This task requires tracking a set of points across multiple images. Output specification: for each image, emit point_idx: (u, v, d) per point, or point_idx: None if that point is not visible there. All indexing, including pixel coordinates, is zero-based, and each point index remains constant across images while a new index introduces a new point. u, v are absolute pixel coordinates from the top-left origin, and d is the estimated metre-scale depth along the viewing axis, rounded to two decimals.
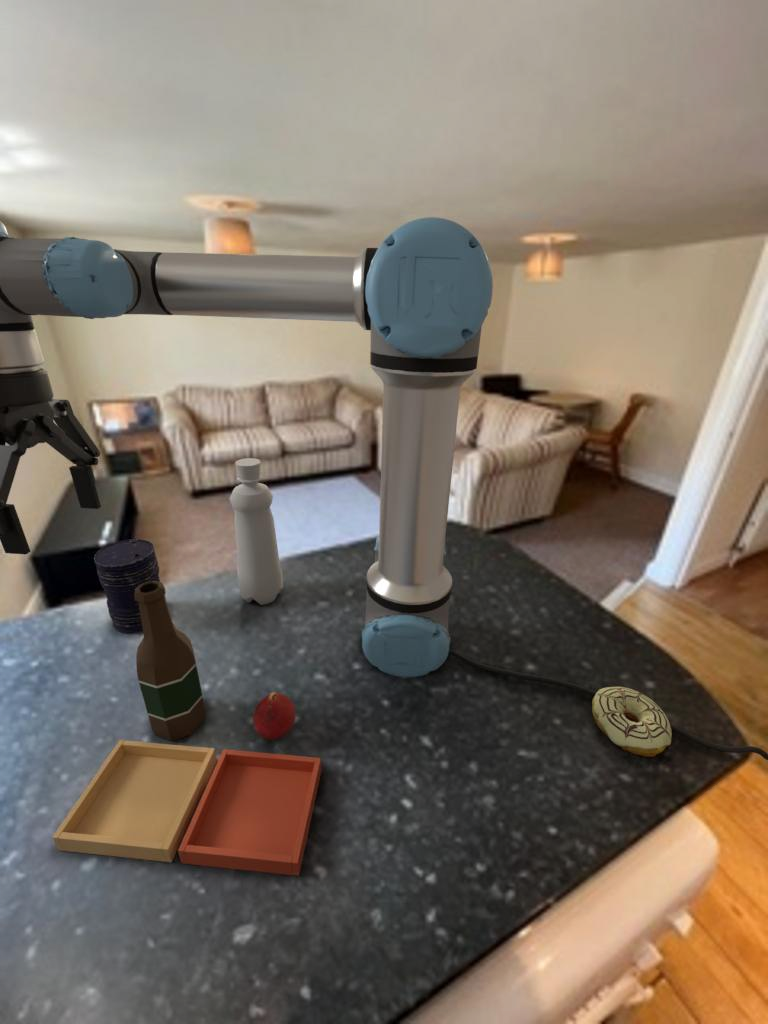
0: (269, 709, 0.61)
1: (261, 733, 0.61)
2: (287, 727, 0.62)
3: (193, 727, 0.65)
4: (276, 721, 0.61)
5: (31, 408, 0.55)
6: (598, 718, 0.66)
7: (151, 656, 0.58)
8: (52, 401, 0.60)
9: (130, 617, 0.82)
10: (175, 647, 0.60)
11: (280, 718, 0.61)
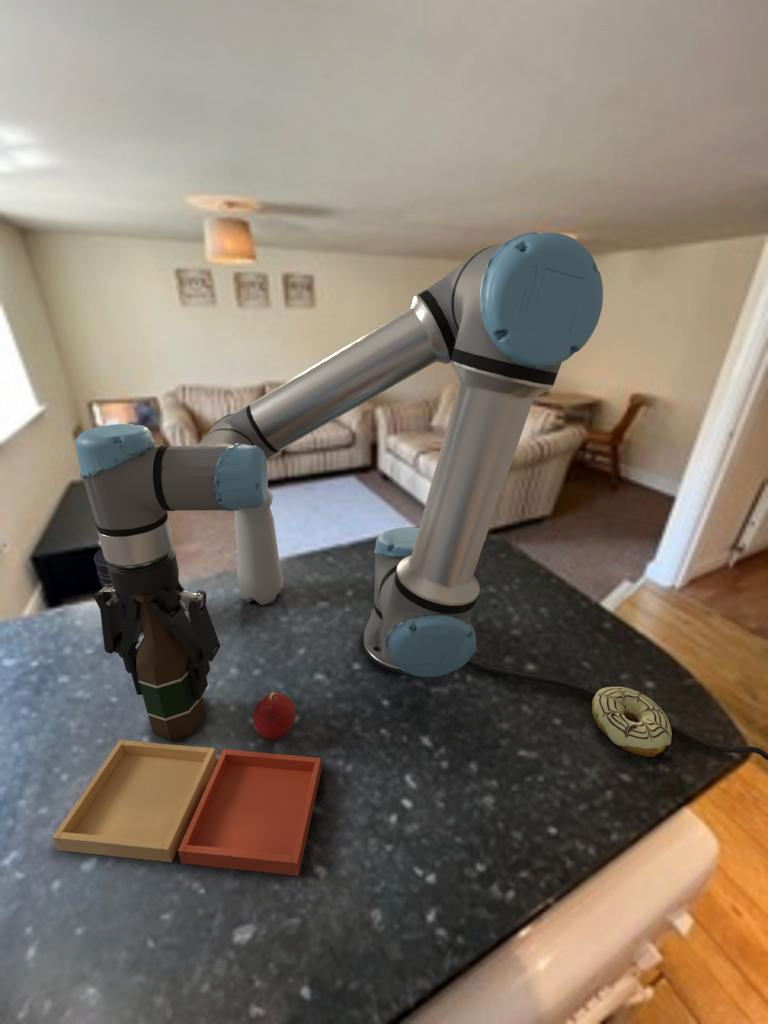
0: (269, 709, 0.61)
1: (261, 733, 0.61)
2: (287, 727, 0.62)
3: (193, 727, 0.65)
4: (276, 721, 0.61)
5: None
6: (598, 718, 0.66)
7: (151, 656, 0.58)
8: (195, 594, 0.57)
9: None
10: (175, 647, 0.60)
11: (280, 718, 0.61)
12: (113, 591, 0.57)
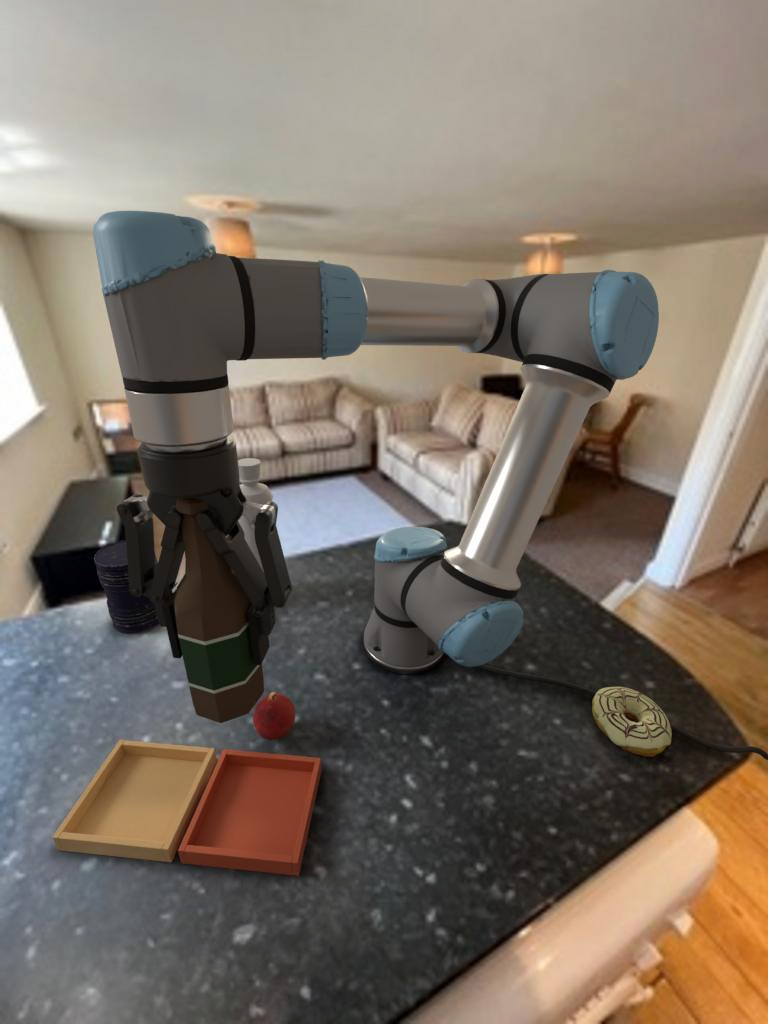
0: (269, 709, 0.61)
1: (261, 733, 0.61)
2: (287, 727, 0.62)
3: (249, 704, 0.46)
4: (276, 721, 0.61)
5: (195, 496, 0.38)
6: (598, 718, 0.66)
7: (198, 598, 0.40)
8: (263, 505, 0.39)
9: (130, 617, 0.82)
10: (230, 587, 0.42)
11: (280, 718, 0.61)
12: (144, 501, 0.39)
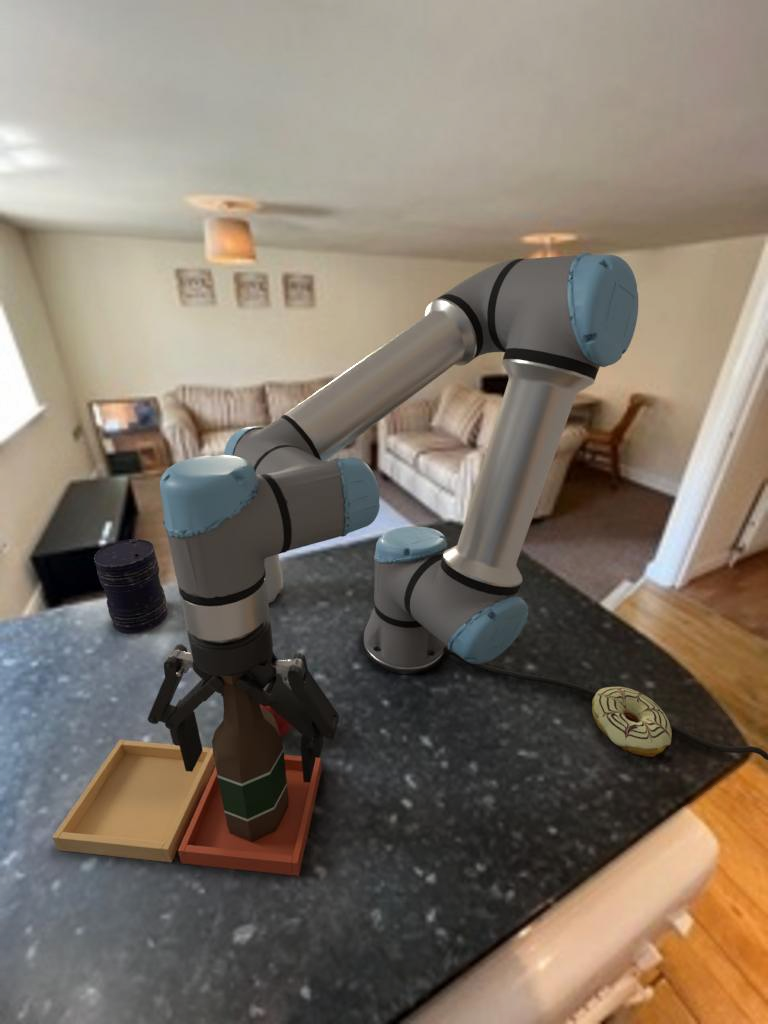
0: (269, 709, 0.61)
1: None
2: (287, 727, 0.62)
3: (277, 823, 0.53)
4: (276, 721, 0.61)
5: None
6: (598, 718, 0.66)
7: (236, 747, 0.46)
8: (291, 660, 0.45)
9: (130, 617, 0.82)
10: (263, 733, 0.48)
11: (280, 718, 0.61)
12: (190, 660, 0.45)
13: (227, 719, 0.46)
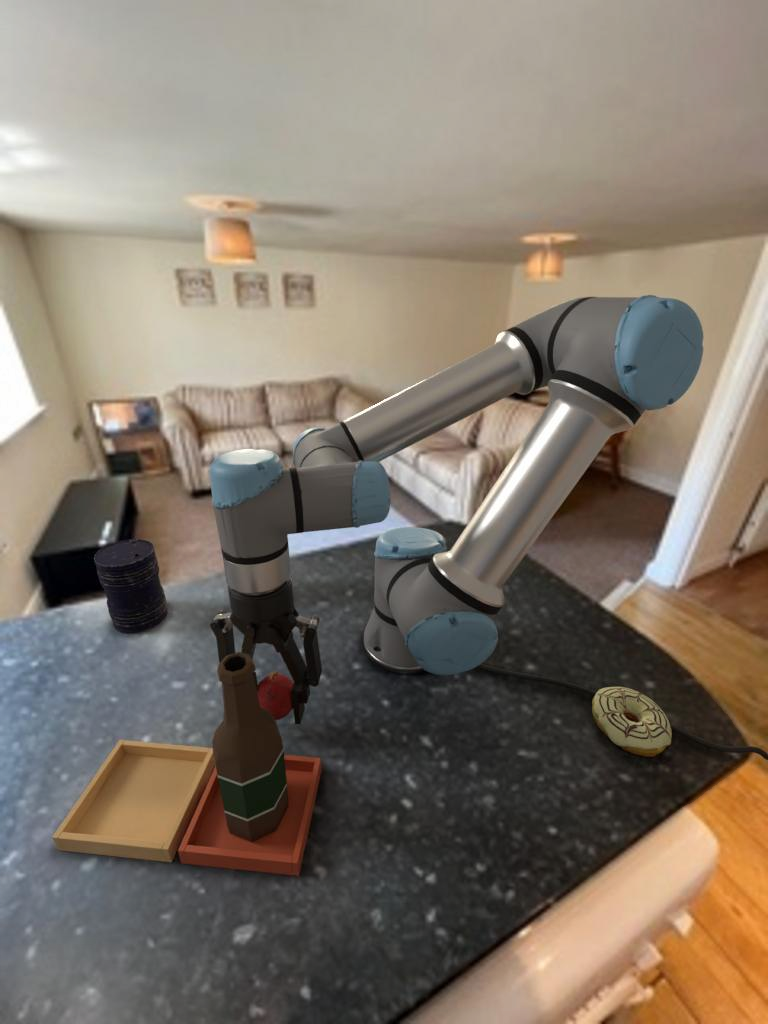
0: (269, 689, 0.60)
1: None
2: (288, 708, 0.61)
3: (277, 823, 0.53)
4: (277, 701, 0.60)
5: None
6: (598, 718, 0.66)
7: (236, 747, 0.46)
8: (310, 619, 0.56)
9: (130, 617, 0.82)
10: (263, 733, 0.48)
11: (281, 697, 0.60)
12: (228, 617, 0.56)
13: (227, 719, 0.46)
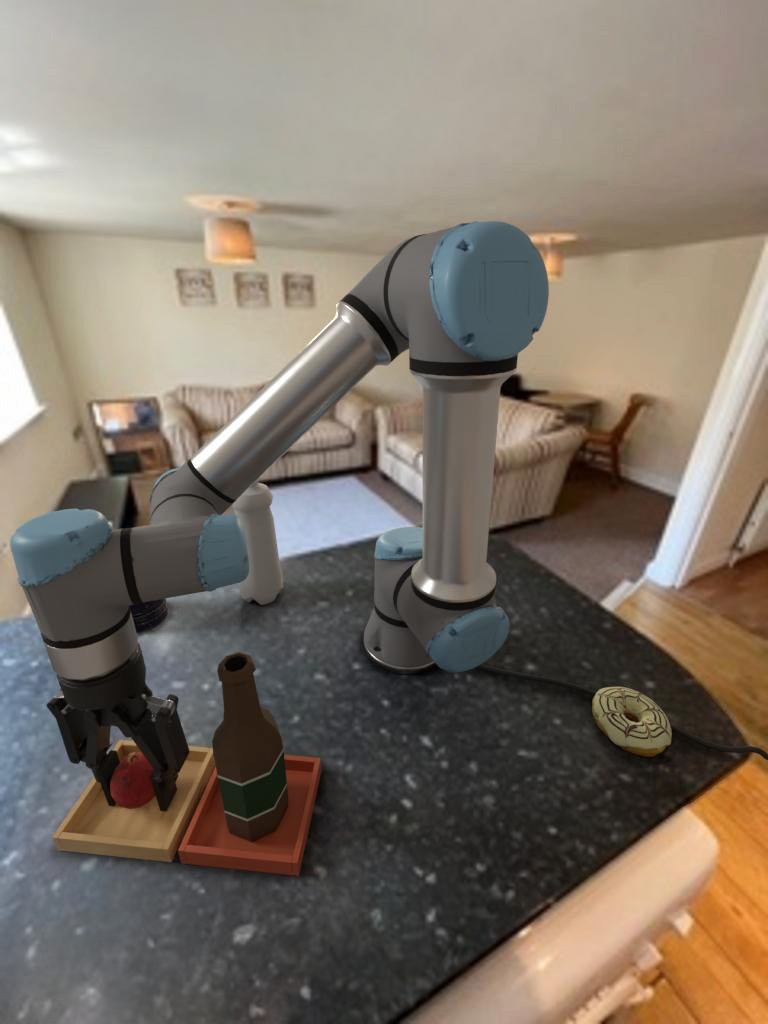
0: (125, 774, 0.52)
1: (116, 802, 0.52)
2: (148, 795, 0.53)
3: (277, 823, 0.53)
4: (133, 789, 0.52)
5: None
6: (598, 718, 0.66)
7: (236, 747, 0.46)
8: (165, 700, 0.49)
9: None
10: (263, 733, 0.48)
11: (139, 784, 0.52)
12: None
13: (227, 719, 0.46)
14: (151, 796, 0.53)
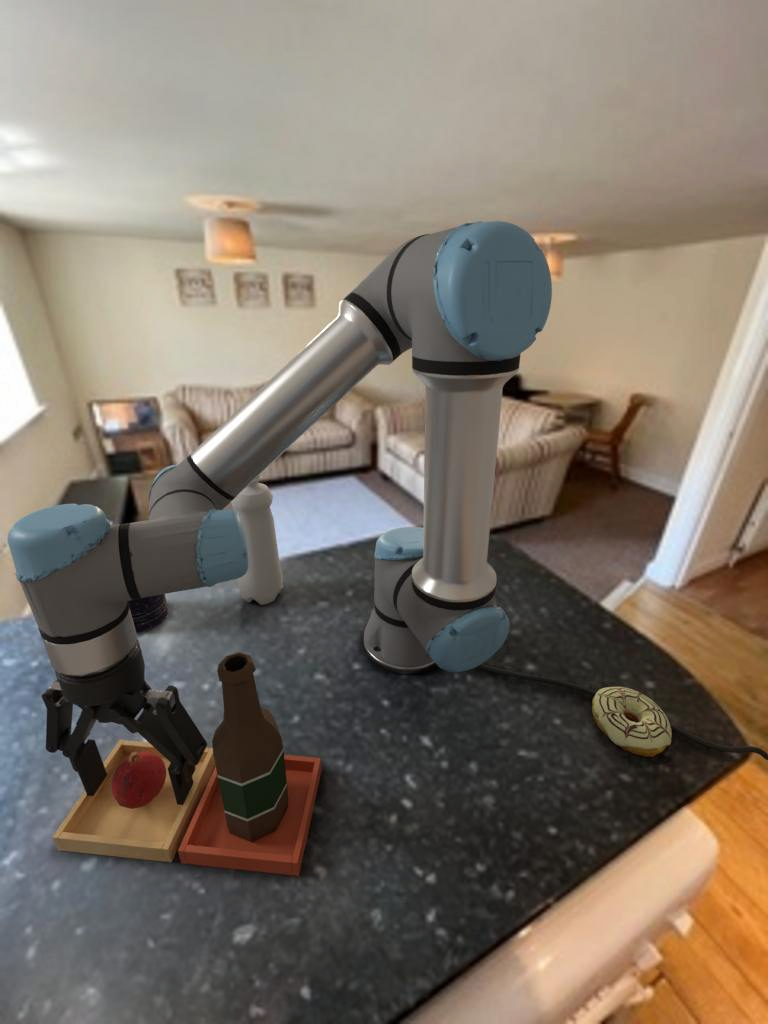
0: (127, 773, 0.52)
1: (118, 802, 0.52)
2: (149, 794, 0.53)
3: (277, 823, 0.53)
4: (135, 788, 0.52)
5: None
6: (598, 718, 0.66)
7: (236, 747, 0.46)
8: (162, 692, 0.48)
9: None
10: (263, 733, 0.48)
11: (141, 783, 0.52)
12: None
13: (227, 719, 0.46)
14: (152, 796, 0.53)
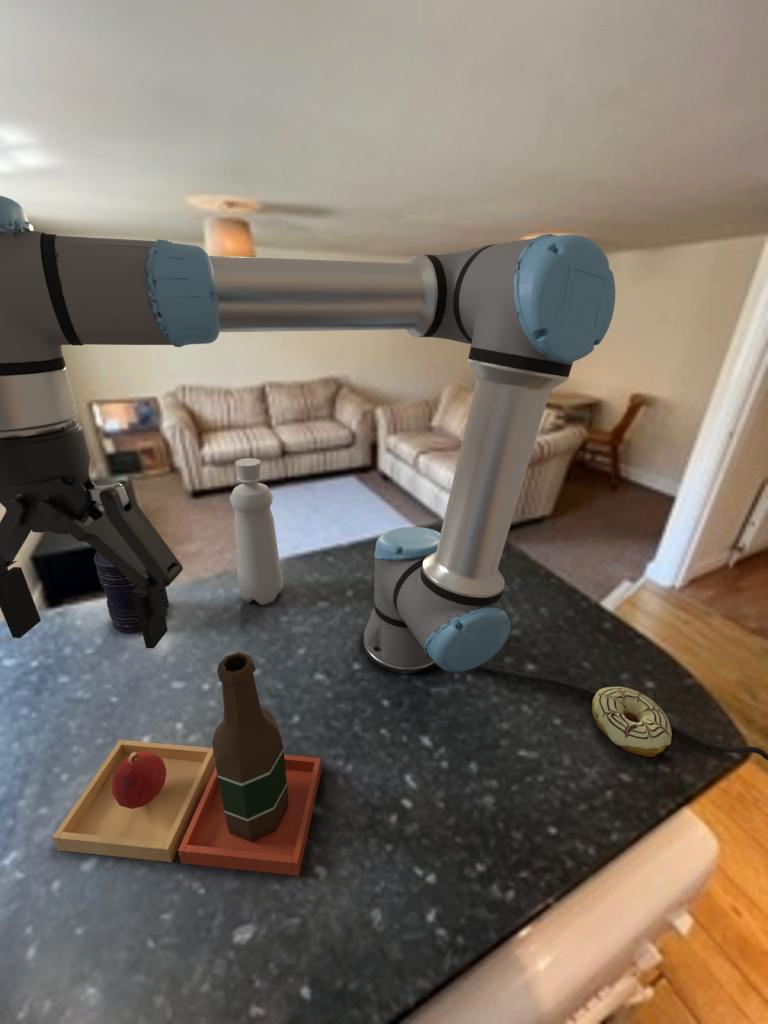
0: (126, 773, 0.52)
1: (118, 802, 0.52)
2: (149, 794, 0.53)
3: (277, 823, 0.53)
4: (135, 788, 0.52)
5: (37, 485, 0.37)
6: (598, 718, 0.66)
7: (236, 747, 0.46)
8: (110, 485, 0.38)
9: (130, 617, 0.82)
10: (263, 733, 0.48)
11: (141, 783, 0.52)
12: None
13: (227, 719, 0.46)
14: (152, 796, 0.53)
